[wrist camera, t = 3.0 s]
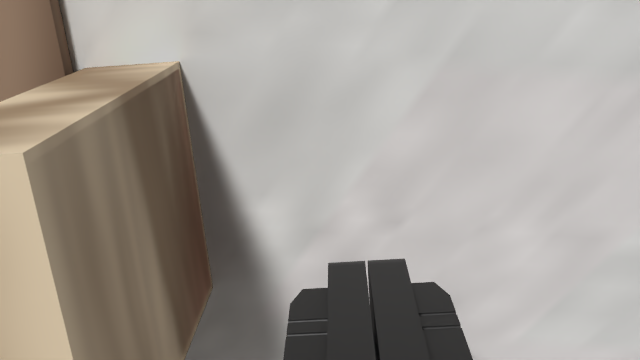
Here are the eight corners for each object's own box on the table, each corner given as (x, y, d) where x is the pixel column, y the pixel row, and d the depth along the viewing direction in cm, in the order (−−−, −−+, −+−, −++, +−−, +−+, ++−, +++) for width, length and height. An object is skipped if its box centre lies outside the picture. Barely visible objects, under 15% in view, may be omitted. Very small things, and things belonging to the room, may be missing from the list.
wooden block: (179, 61, 19) (22, 152, 10) (212, 287, 22) (115, 533, 12) (85, 67, 19) (-159, 165, 10) (130, 291, 22) (-29, 538, 12)
